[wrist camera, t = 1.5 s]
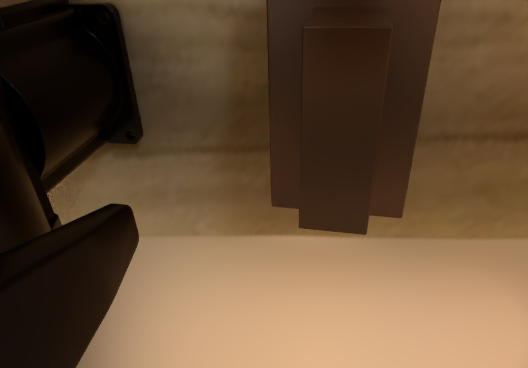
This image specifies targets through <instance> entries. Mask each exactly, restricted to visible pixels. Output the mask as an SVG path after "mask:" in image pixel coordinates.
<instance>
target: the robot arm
mask: <svg viewBox="0 0 528 368" xmlns="http://www.w3.org/2000/svg"><path fill="white" fill-rule="evenodd" d="M104 11H106V12H107V13H108V14H109V16H110V21H107V20H106V19H105V17H104ZM129 130H130V131H132V132H133V133H134V135H135V136H132V135H131V134H130V132H129ZM142 137H143V130H142V125H141V120H140V115H139V110H138V105H137V100H136V95H135V90H134V85H133V80H132V75H131V70H130V65H129V60H128V55H127V50H126V45H125V40H124V35H123V30H122V25H121V20H120V15H119V12H118V10H117V9H116V8H115V6H113V5H112V4H109V3H69V0H0V368H76V366H77V365H78V363H79V361H80V359H81V357H82V356H83V354H84V352H85V351H86V349H87V347H88V345H89V343H90V342H91V340H92V338H93V336H94V335H95V333H96V331H97V329H98V328H99V326H100V324H101V322H102V321H103V319H104V317H105V315H106V313H107V312H108V310H109V308H110V306H111V304H112V302H113V300H114V298H115V296H116V294H117V291H118V289H119V287H120V284H121V282H122V280H123V277H124V275H125V273H126V271H127V268H128V266H129V264H130V261H131V259H132V257H133V254H134V252H135V250H136V248H137V245H138V241H139V234H138V230H137V226H136V222H135V218H134V215H133V211H132V209H131V207H130V206H128V205H124V204H109V205H107V206H104V207H102V208H100V209H98V210H96V211H93V212H91V213H89V214H87V215H85V216H82V217H80V218H78V219H76V220H73V221H71V222H69V223H67V224H65V225H62V224H61V221H60V219H59V216H58V215H57V214H54V211H53V209H52V206H51V204H50V201H49V199H48V196H47V193H48V192H49V191H50V190H51V189H53V188H54V187H55V186H56V185H57V184H58V183H60V182H61V181H62V180H63V179H64V178H65V177H67V176H68V175H69V174H70V173H71V172H72V171H74V170H75V169H76V168H77V167H78V166H79V165H81V164H82V163H83V162H84V161H85V160H86V159H88V158H89V157H90V156H91V155H92V154H93V153H95V152H96V151H97V150H98V149H99V148H100V147H102V146H103V145H104V144H105V143H121V144H136V143H137V142H139V141H140V140H141V139H142Z"/></svg>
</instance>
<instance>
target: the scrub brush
mask: <svg viewBox="0 0 528 368" xmlns="http://www.w3.org/2000/svg"><path fill="white" fill-rule="evenodd" d="M440 4H441V0H267V39H268V80H269V121H270V162H271V203H272V206H274V207H285V208H296V209H299V228H303V229H313V230H323V231H333V232H343V233H353V234H363V235H366V234H367V227H368V219H369V215H372V216H383V217H393V218H402V215H403V209H404V204H405V198H406V193H407V187H408V182H409V176H410V171H411V165H412V159H413V154H414V148H415V143H416V137H417V132H418V126H419V120H420V115H421V109H422V104H423V98H424V93H425V87H426V82H427V76H428V70H429V65H430V59H431V54H432V48H433V43H434V37H435V32H436V26H437V20H438V15H439V9H440Z"/></svg>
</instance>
